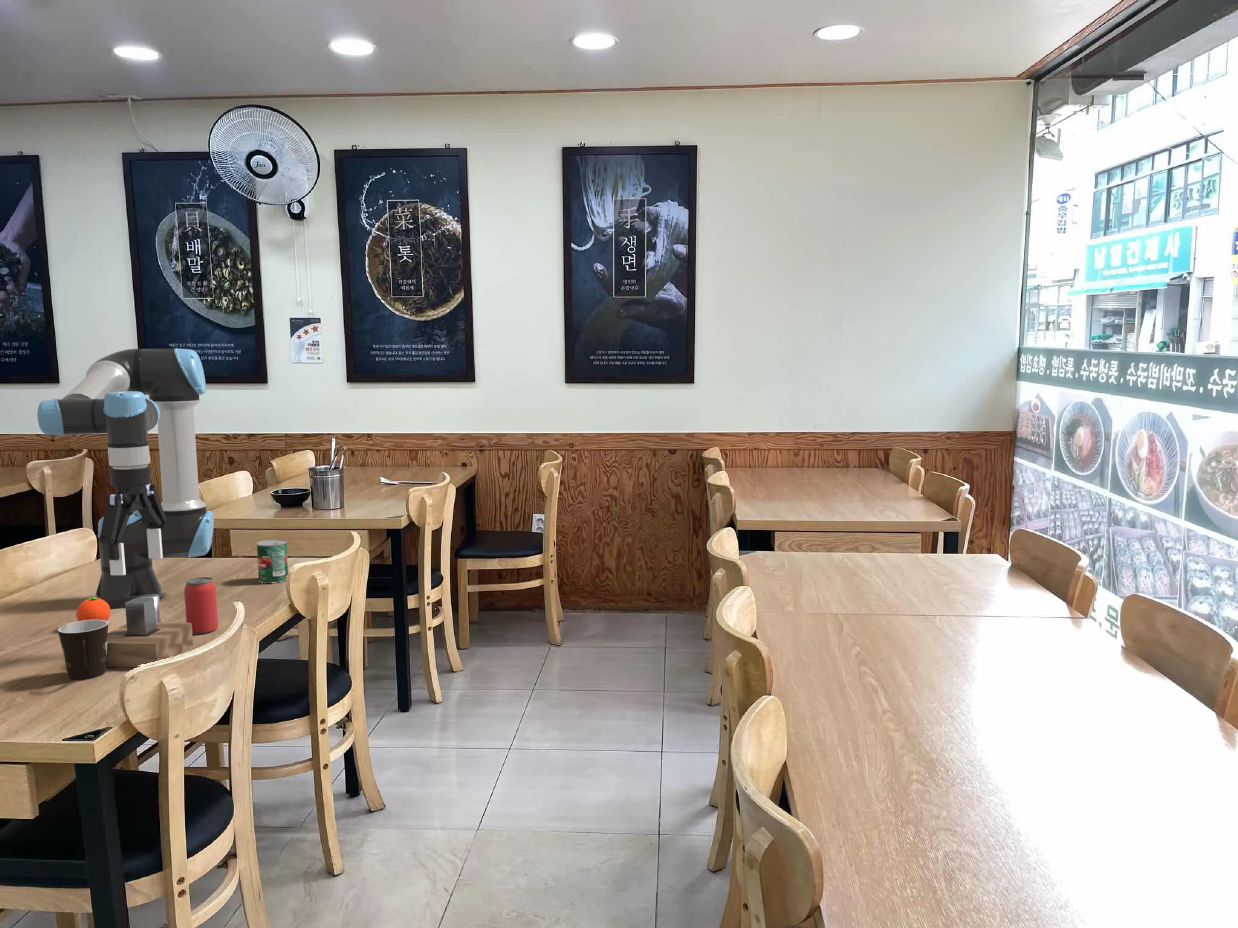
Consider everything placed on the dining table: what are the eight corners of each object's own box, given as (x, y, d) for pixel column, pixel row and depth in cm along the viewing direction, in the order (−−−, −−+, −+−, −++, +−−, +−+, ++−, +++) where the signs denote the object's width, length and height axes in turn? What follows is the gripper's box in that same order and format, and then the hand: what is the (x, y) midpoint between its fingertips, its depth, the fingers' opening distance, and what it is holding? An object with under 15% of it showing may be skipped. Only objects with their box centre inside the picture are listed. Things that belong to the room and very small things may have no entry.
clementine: (80, 623, 212) (78, 594, 211) (113, 620, 215) (111, 591, 214) (75, 633, 205) (72, 603, 204) (109, 629, 208) (107, 599, 207)
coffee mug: (75, 667, 183) (71, 620, 181) (119, 666, 183) (116, 619, 182) (44, 688, 171) (40, 638, 170) (91, 687, 172) (87, 637, 171)
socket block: (131, 643, 197) (129, 622, 197) (193, 644, 197) (191, 622, 196) (91, 666, 183) (89, 642, 183) (157, 667, 183) (155, 643, 182)
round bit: (148, 636, 202) (145, 593, 201) (165, 637, 202) (162, 594, 201) (138, 642, 198) (134, 598, 197) (155, 642, 198) (152, 599, 197)
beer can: (198, 636, 202) (194, 585, 201) (181, 631, 206) (177, 581, 204) (224, 628, 208) (221, 578, 206) (207, 624, 211) (204, 574, 210)
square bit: (140, 651, 192) (136, 597, 191) (158, 652, 192) (154, 597, 190) (129, 658, 188) (125, 602, 187) (147, 658, 188) (143, 603, 186)
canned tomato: (252, 582, 249) (250, 544, 247) (271, 576, 256) (269, 538, 255) (276, 584, 246) (274, 545, 245) (294, 578, 254) (292, 540, 253)
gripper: (146, 457, 197) (153, 551, 200) (73, 475, 173) (82, 582, 176) (179, 458, 197) (186, 552, 200) (110, 476, 172) (119, 582, 175)
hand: (137, 566), depth 188 cm, fingers open, 13 cm apart
